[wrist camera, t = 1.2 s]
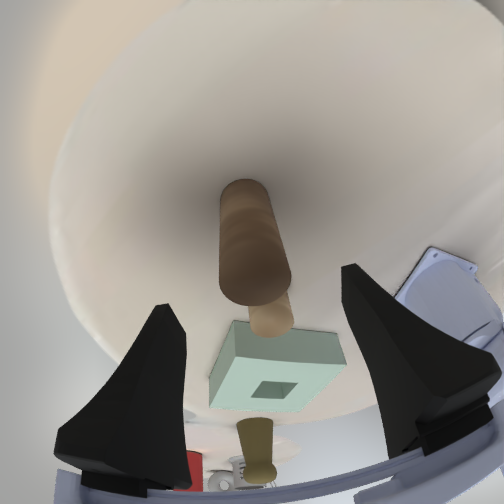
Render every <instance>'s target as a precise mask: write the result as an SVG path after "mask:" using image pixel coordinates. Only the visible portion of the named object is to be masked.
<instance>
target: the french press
mask: <svg viewBox="0 0 504 504" xmlns="http://www.w3.org/2000/svg"><path fill="white" fill-rule="evenodd" d="M228 461H229V462H231V463H232V464H233V479H234V489H237V490H251V489H260V488H263V486H265V487H266V483H265V484H250V483H247V482H246V481H245V480H244V478H243V477H242V476H243V473H241V472H242V471H243V469H244V468H245V466H246V464H245V460H244V456H236V457H232V458H229V459H228ZM240 478H241V479H240ZM273 482H274V481H273ZM270 484H271V482H270ZM274 484H275V483H274ZM271 486H272V484H271ZM272 487H273V486H272ZM275 487H276V485H275Z"/></svg>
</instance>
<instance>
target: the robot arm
mask: <svg viewBox="0 0 504 504" xmlns="http://www.w3.org/2000/svg"><path fill="white" fill-rule="evenodd" d="M477 269H478V266H477V265H476V264H474V263H471V262H469V261H466V260H464V259H461V258H459V257H456V256H454V255H451V254H449V253H446V252H443V251H441V250H438V249H436V248H429V249H428V250H427V252H426V253H425V255H424V256H423V258H422V260H421V261H420V263H419V264H418V266H417V267H416V268H415V270H414V271H413V273H412V274H411V276H410V277H409V279H408V280H407V281H406V283H405V284H404V286H403V287H402V288H401V290H400V291H399V292H398V294H397V295H396V297H395V298H394V297H392V296H391V295H390V294H389V293H388V292H387V291H385V290H384V289H383V288H382V287H381V286H380V285H379V284H378V283H376V282H375V281H374V280H373V279H372V278H371V277H370V276H369V275H368V274H367V273H366V272H365V271H364V270H363V269H361V268H360V267H359V266H358V265H357V264H356V263H354V264H350V265H346V266H342V267H341V282H342V305H343V308H344V311H345V314H346V317H347V320H348V323H349V325H350V328H351V330H352V332H353V335H354V337H355V339H356V341H357V344H358V346H359V348H360V350H361V353H362V355H363V357H364V360H365V362H366V364H367V367H368V370H369V372H370V376H371V379H372V382H373V386H374V389H375V393H376V397H377V401H378V405H379V409H380V413H381V418H382V423H383V428H384V433H385V438H386V445H387V451H388V456H389V460H387V461H384V462H381V463H378V464H375V465H372V466H369V467H366V468H363V469H359V470H356V471H352V472H349V473H345V474H341V475H337V476H333V477H328V478H324V479H320V480H315V481H310V482H305V483H299V484H293V485H287V486H280V487H272V488H265V489H254V490H241V491H221V492H188V491H168V490H174V489H178V490H188V489H189V488H190V487H191V486H192V485H193V483H192V479H191V474H190V469H189V464H188V458H187V451H186V444H185V434H184V421H183V393H184V381H185V369H186V357H187V346H186V333H185V331H184V329H183V328H182V326H181V324H180V323H179V321H178V319H177V317H176V316H175V314H174V312H173V311H172V309H171V307H170V305H169V303H167V304H162V305H156V306H155V307H154V309H153V311H152V312H151V314H150V316H149V317H148V319H147V321H146V323H145V324H144V326H143V328H142V329H141V331H140V333H139V335H138V336H137V338H136V340H135V341H134V343H133V345H132V346H131V348H130V349H129V351H128V353H127V354H126V356H125V357H124V359H123V360H122V362H121V363H120V365H119V366H118V368H117V369H116V371H115V372H114V373H113V375H112V376H111V377H110V379H109V380H108V381H107V382H106V384H105V385H104V386H103V387H102V388H101V389H100V390H99V392H98V393H97V394H96V395H95V396H94V397H93V398H92V400H91V401H90V402H89V403H88V404H87V405H86V406H85V407H84V408H82V409H81V410H80V411H79V412H78V413H77V414H76V415H75V416H74V417H73V418H71V419H70V420H69V421H68V422H66V423H65V424H64V425H63V426H62V427H60V428H59V429H58V432H57V438H56V442H55V448H54V455H55V456H56V457H57V458H58V459H60V460H62V461H63V462H66V463H68V464H70V465H72V466H74V467H76V468H78V469H81V470H82V475H79V474H76V473H73V472H69V471H65V470H61V469H58V470H57V477H56V484H55V494H54V504H278V503H285V502H292V501H298V500H304V499H309V498H315V497H320V496H325V495H329V494H333V493H338V492H342V491H345V490H349V489H352V488H357V487H360V486H363V485H367V484H370V483H373V482H376V481H379V480H382V479H385V478H388V477H391V476H393V475H394V476H393V477H392V478H391V480H390V481H388V482H385V483H382V484H379V485H377V486H374V487H371V488H368V489H365V490H362V491H359V492H358V493H357V494H355V495H354V496H353V497H354V502H355V504H446V503H448V502H449V501H451V500H453V499H454V498H456V497H458V496H460V495H461V494H463V493H464V492H466V491H467V490H469V489H470V488H472V487H474V486H475V485H477V484H478V483H479V482H481V481H482V480H484V479H485V478H486V477H488V476H489V475H491V474H492V473H493V472H495V471H496V470H497V469H499V468H500V469H501V471H502V473H503V476H504V322H503V316H502V313H501V310H500V308H499V307H498V305H497V304H496V302H495V301H494V300H493V298H492V297H491V296H490V294H489V293H488V292H487V290H486V289H485V288H484V287H483V285H482V284H481V283H480V281H479V280H478V279H477V278H476V276H475V275H474V274H475V272H476V271H477Z"/></svg>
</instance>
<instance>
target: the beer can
mask: <svg viewBox="0 0 504 504" xmlns="http://www.w3.org/2000/svg"><path fill="white" fill-rule="evenodd" d="M187 458H188V464H189V469H190V474H191V479H192V483H193V485H192V486H191V487H190V488H189V489H188V490H178V489H174V490H173V491H188V492H203V467H202V455H201V454H200V453H197V452H193V451H187Z"/></svg>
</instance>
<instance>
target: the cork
mask: <svg viewBox="0 0 504 504" xmlns="http://www.w3.org/2000/svg"><path fill="white" fill-rule="evenodd" d="M237 429H238V434H239V438H240V443H241V447H242V452H243V456H244V460H245V464H246V466H245V468H244V469H243V478H244V480H245V481H246V482H247V483H250V484H265V483H269V482H272V481H274V480H275V479H276V476H277V471H276V468H275V466H274V465H273V464H272V444H273V421H272V420H271V419H268V418H249V419H244V420H242V421H239V422H238V423H237Z"/></svg>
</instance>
